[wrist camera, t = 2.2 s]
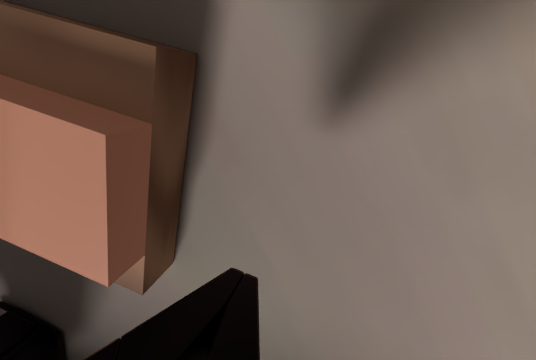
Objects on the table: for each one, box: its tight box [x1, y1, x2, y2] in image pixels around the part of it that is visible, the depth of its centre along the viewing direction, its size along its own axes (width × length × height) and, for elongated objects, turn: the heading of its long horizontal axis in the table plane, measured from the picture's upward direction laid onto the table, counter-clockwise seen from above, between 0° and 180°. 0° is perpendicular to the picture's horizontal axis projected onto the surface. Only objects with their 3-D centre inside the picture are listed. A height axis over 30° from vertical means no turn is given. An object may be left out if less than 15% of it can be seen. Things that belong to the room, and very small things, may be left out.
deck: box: [0, 0, 197, 295], centre depth 12 cm, size 11×10×2 cm
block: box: [0, 74, 152, 287], centre depth 10 cm, size 9×6×2 cm, turn 77°
